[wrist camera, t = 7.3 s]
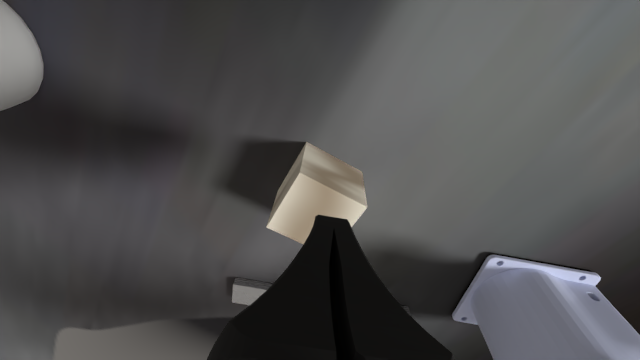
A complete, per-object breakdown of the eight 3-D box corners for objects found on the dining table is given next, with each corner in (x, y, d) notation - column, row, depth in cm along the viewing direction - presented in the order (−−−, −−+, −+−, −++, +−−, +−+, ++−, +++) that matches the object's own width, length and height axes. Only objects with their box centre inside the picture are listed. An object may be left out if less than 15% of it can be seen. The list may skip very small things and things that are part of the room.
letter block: (362, 171, 22) (367, 207, 18) (328, 217, 24) (327, 257, 21) (306, 141, 21) (299, 172, 17) (276, 191, 24) (265, 229, 20)
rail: (408, 306, 29) (410, 314, 28) (400, 322, 30) (401, 330, 29) (235, 277, 28) (233, 284, 27) (234, 295, 29) (231, 302, 29)
